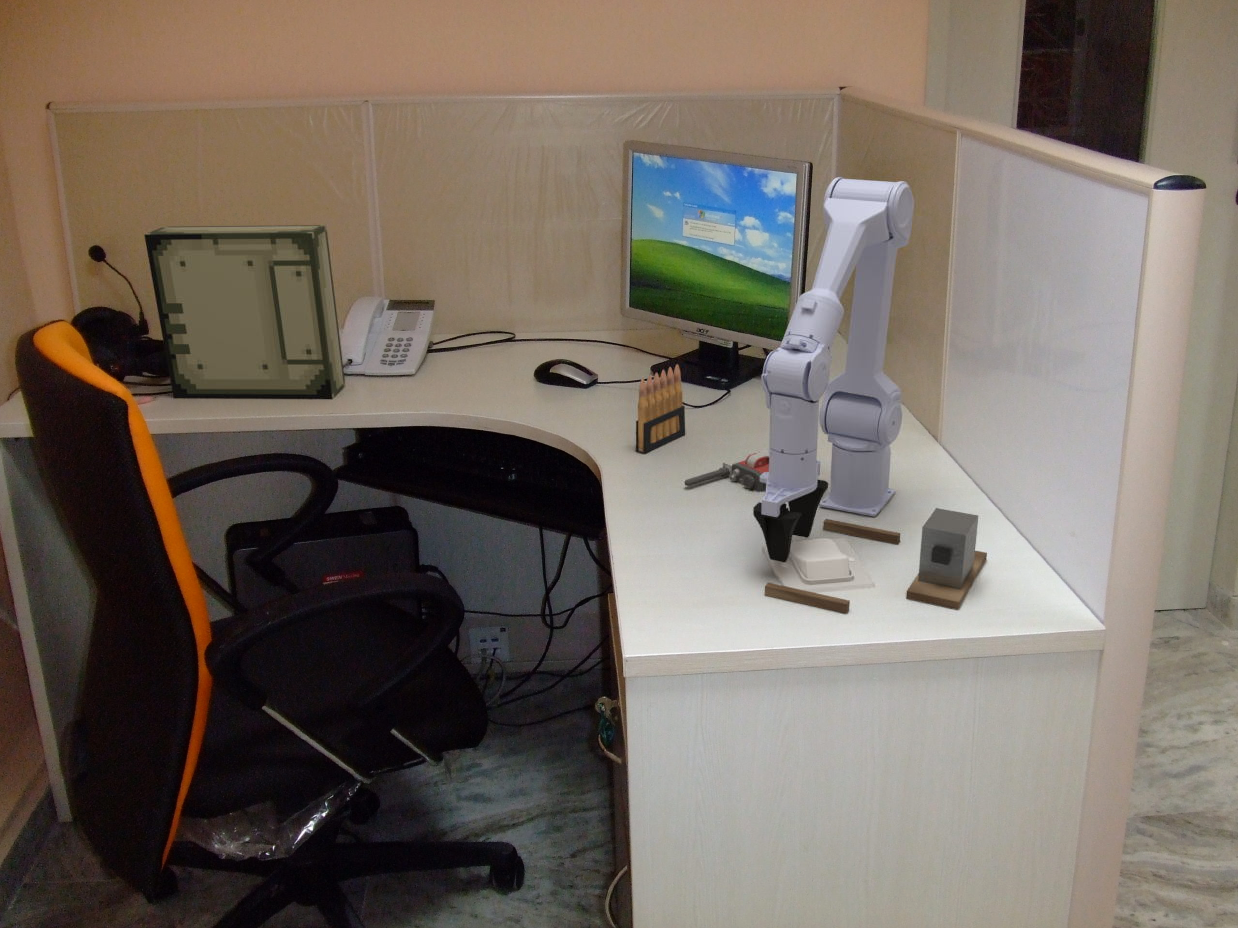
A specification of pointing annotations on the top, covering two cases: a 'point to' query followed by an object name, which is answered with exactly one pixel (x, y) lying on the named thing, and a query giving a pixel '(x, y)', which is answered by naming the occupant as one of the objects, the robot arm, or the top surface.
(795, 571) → the light switch
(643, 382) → the ammunition clip
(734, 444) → the top surface
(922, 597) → the mounting board
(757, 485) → the walkie-talkie
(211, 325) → the control panel
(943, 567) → the junction box
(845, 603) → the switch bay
